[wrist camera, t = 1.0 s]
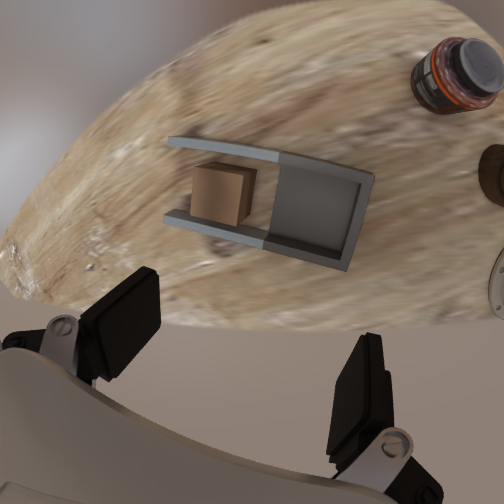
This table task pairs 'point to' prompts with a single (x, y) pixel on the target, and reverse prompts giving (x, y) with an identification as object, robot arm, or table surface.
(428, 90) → the supplement bottle
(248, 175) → the walnut block
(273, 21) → the table surface
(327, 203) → the grey u-shaped bracket
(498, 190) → the pepper mill
